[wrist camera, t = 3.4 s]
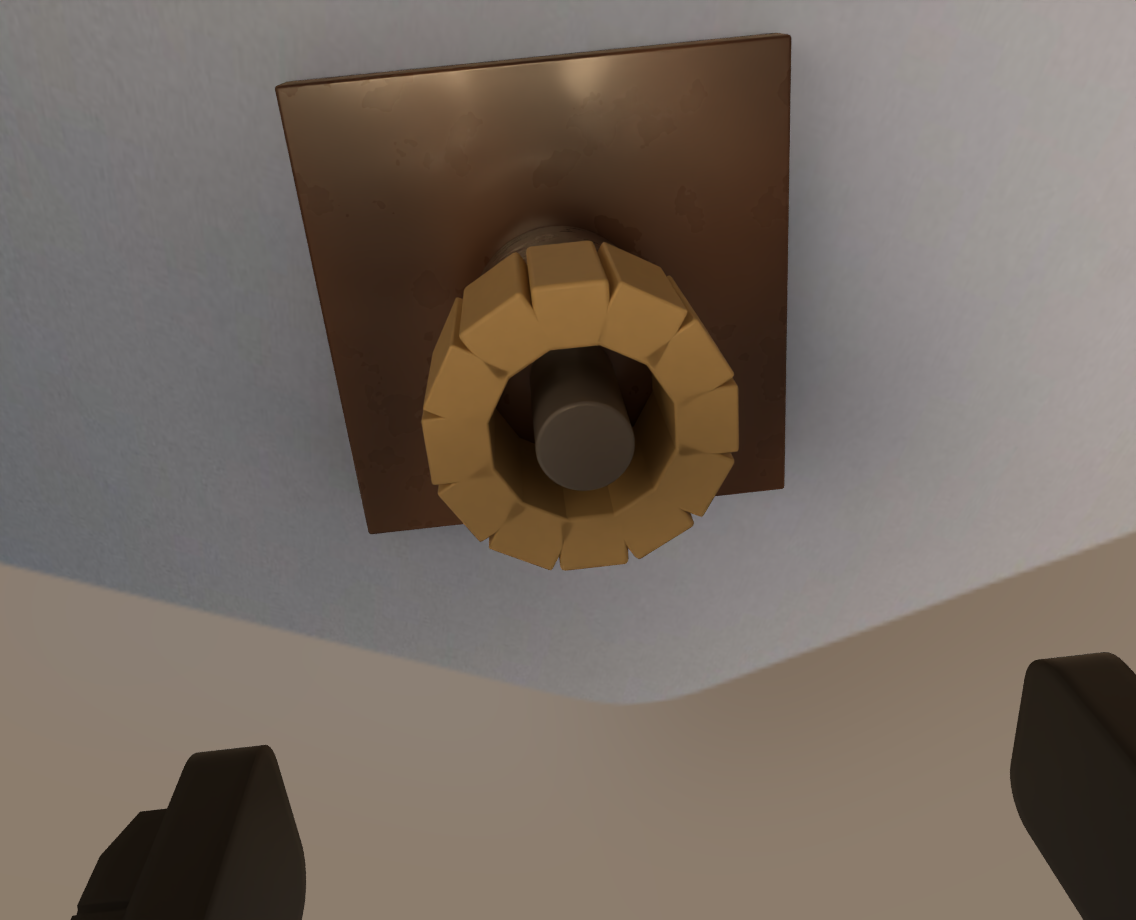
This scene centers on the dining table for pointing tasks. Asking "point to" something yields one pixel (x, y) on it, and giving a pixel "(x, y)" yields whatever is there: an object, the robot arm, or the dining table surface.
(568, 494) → the segmented tan ring
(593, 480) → the stand
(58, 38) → the dining table surface
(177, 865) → the robot arm
